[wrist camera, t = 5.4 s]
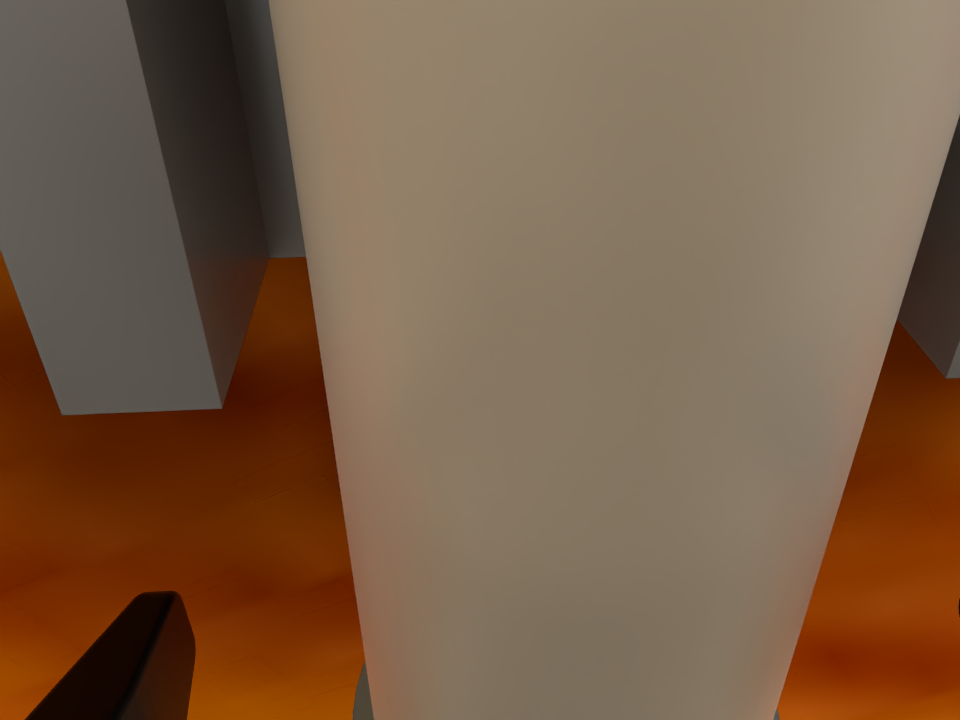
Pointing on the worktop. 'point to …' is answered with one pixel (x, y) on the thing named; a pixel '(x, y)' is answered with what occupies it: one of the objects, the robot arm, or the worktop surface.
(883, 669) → the worktop surface
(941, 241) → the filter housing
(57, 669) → the worktop surface
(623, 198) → the cylinder
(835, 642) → the worktop surface
